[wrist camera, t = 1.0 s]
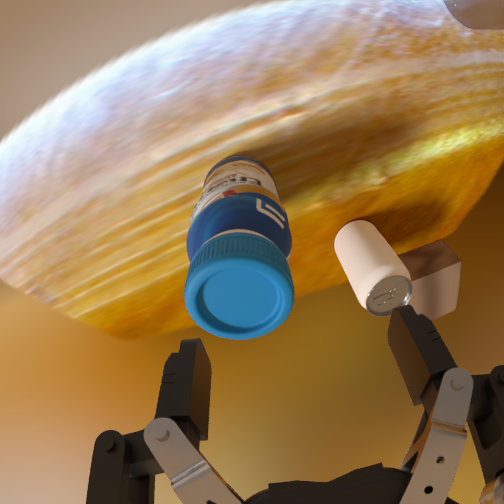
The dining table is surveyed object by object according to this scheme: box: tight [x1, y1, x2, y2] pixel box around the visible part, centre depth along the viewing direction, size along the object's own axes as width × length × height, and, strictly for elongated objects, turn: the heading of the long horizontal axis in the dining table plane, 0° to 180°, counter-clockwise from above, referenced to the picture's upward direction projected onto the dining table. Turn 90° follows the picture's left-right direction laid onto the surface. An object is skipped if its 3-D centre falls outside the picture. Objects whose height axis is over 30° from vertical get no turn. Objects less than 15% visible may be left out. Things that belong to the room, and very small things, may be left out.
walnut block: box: [398, 240, 461, 320], centre depth 40 cm, size 10×10×6 cm
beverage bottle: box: [184, 156, 294, 340], centre depth 26 cm, size 8×8×20 cm
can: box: [334, 220, 413, 317], centre depth 34 cm, size 6×6×12 cm
